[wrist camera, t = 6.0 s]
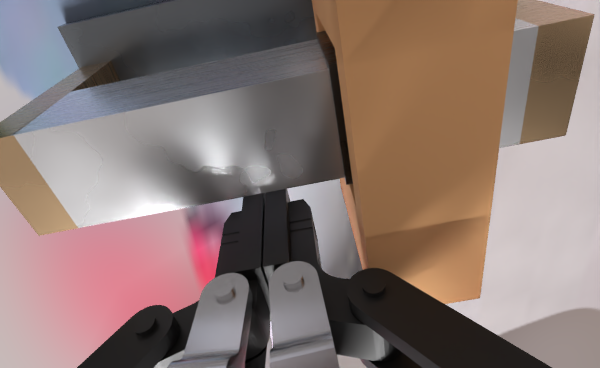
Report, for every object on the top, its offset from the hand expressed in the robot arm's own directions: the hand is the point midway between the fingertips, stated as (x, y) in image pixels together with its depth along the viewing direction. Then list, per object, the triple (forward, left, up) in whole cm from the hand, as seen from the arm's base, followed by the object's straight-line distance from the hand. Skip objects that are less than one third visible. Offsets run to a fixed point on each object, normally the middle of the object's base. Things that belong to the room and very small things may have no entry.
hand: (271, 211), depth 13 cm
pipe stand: (-1, -4, -5) cm, 6 cm away
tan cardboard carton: (-4, -4, -3) cm, 6 cm away
